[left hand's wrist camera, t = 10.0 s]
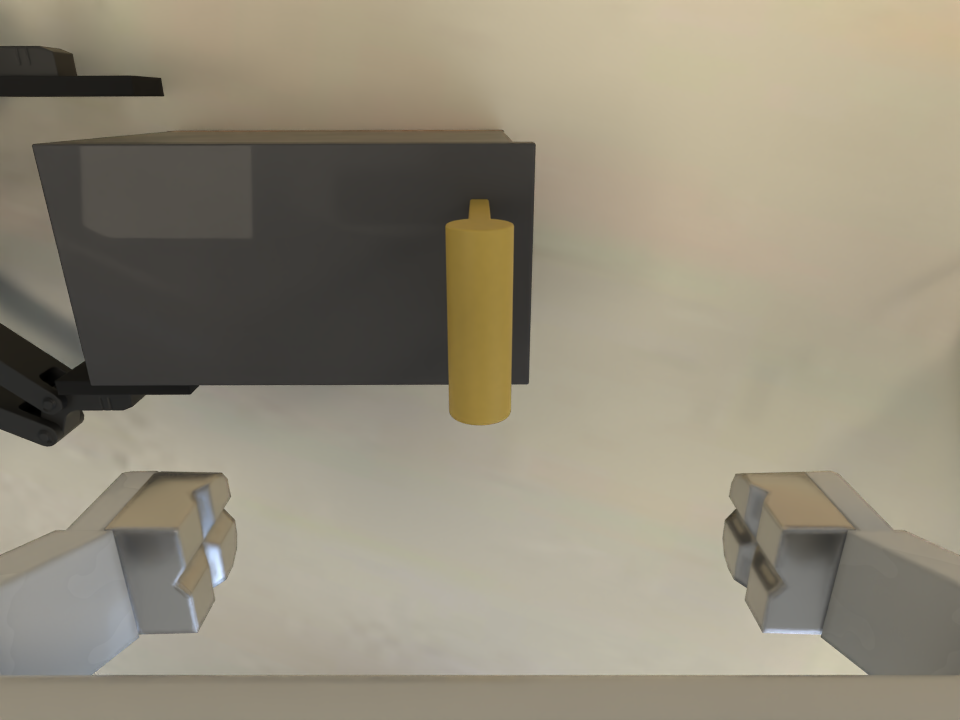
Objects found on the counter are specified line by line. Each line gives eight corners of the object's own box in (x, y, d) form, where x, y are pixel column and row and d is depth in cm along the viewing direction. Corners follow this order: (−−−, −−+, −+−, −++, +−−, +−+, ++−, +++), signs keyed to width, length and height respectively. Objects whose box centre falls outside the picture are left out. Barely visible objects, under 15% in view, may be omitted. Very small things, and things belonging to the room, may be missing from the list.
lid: (533, 141, 24) (558, 159, 17) (527, 376, 28) (545, 477, 20) (46, 142, 24) (-149, 160, 17) (102, 377, 28) (-38, 479, 20)
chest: (503, 129, 34) (513, 141, 24) (501, 301, 38) (509, 376, 28) (176, 130, 34) (46, 142, 24) (205, 302, 38) (102, 377, 28)
